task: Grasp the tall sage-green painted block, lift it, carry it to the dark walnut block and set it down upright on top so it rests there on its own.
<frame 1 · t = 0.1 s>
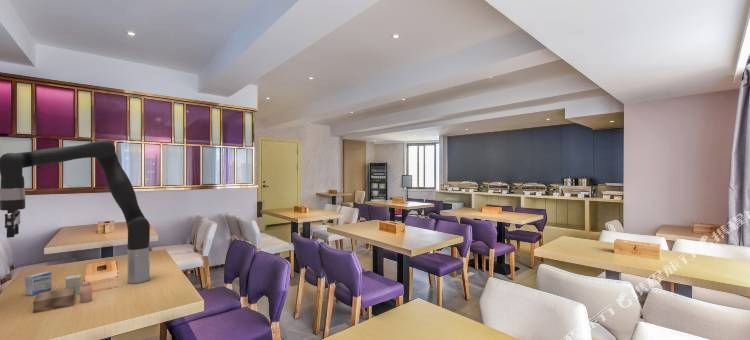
hand: (12, 235, 145), 29 cm above the table, fingers open, 8 cm apart
green block: (73, 293, 155), on the table
medicine box: (38, 292, 157), on the table
terracotta shaker: (86, 301, 147), on the table
walnut block: (55, 305, 143), on the table
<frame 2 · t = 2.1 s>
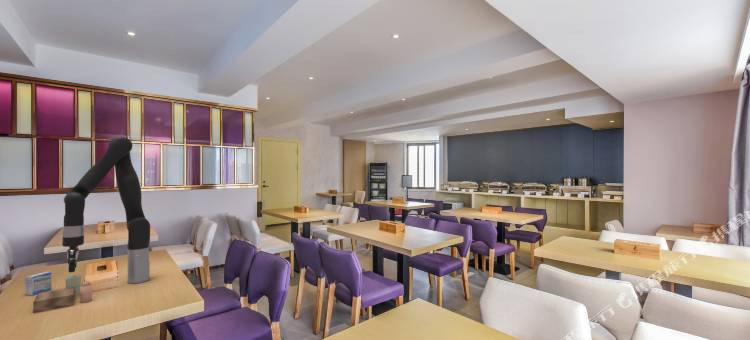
hand: (72, 269, 155), 11 cm above the table, fingers open, 8 cm apart
nothing on the table moved.
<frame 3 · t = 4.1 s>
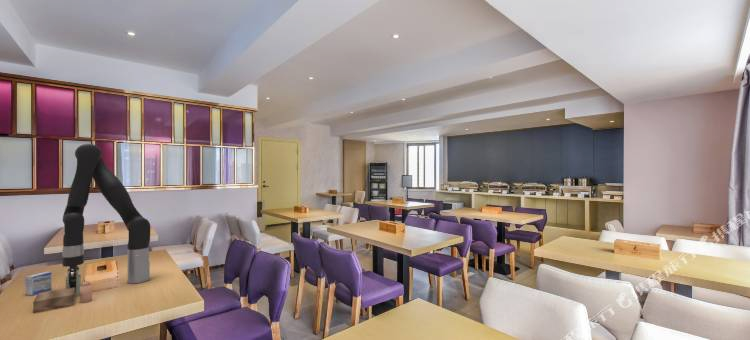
hand: (73, 290, 155), 1 cm above the table, fingers closed on green block, 5 cm apart
green block: (73, 293, 155), on the table, touching gripper
everything else where it was.
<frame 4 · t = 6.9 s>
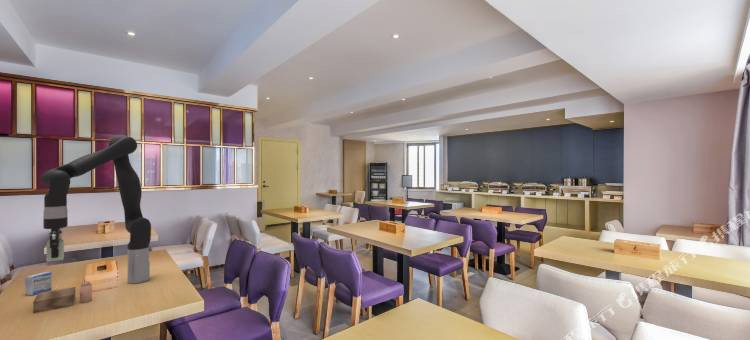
hand: (55, 256, 143), 21 cm above the table, fingers closed on green block, 5 cm apart
green block: (55, 259, 143), point 19 cm above the table, touching gripper
everything else where it was.
when the fingers open (7 cm above the table, at t = 10.1 s): green block drops 1 cm, resting on walnut block.
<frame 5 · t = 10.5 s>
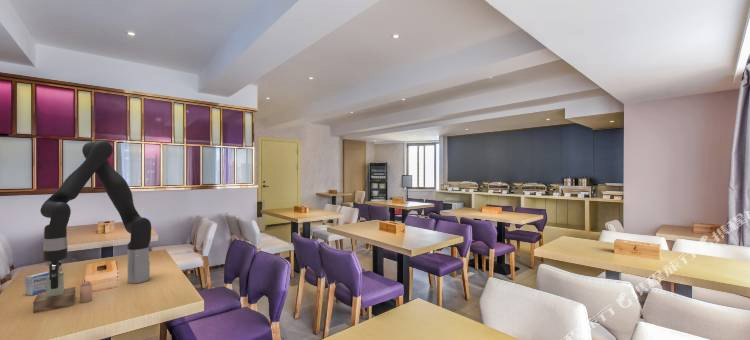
hand: (55, 285, 143), 8 cm above the table, fingers open, 8 cm apart
green block: (55, 294, 143), point 5 cm above the table, touching walnut block
walnut block: (55, 305, 143), on the table, touching green block
everything else where it was.
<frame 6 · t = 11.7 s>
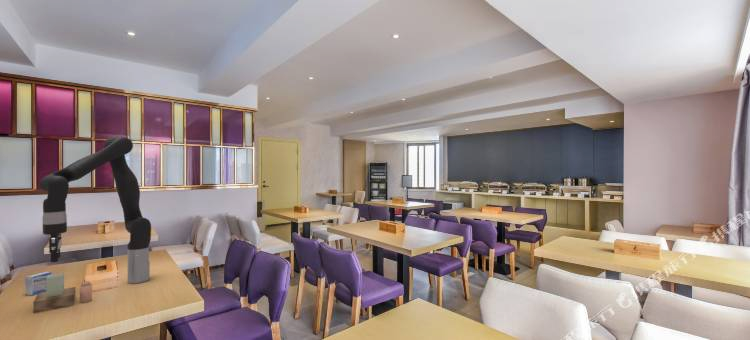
hand: (55, 259, 143), 19 cm above the table, fingers open, 8 cm apart
nothing on the table moved.
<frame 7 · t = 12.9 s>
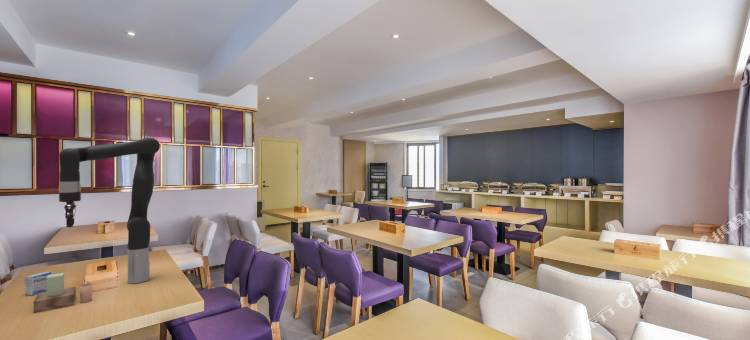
hand: (70, 225, 155), 32 cm above the table, fingers open, 8 cm apart
green block: (55, 293, 143), point 5 cm above the table
walnut block: (56, 305, 143), on the table
everything else where it was.
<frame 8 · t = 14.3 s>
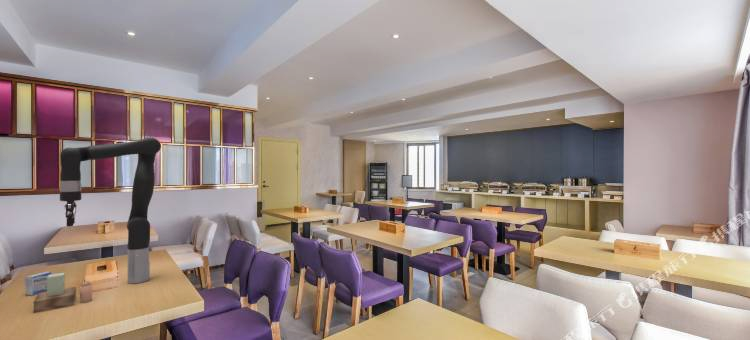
hand: (70, 225, 155), 32 cm above the table, fingers open, 8 cm apart
nothing on the table moved.
at the end: green block inside the target area on the walnut block (0.2 cm from its centre), point 5.0 cm above the walnut block's base; green block tilted 1°; the gripper is holding nothing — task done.
